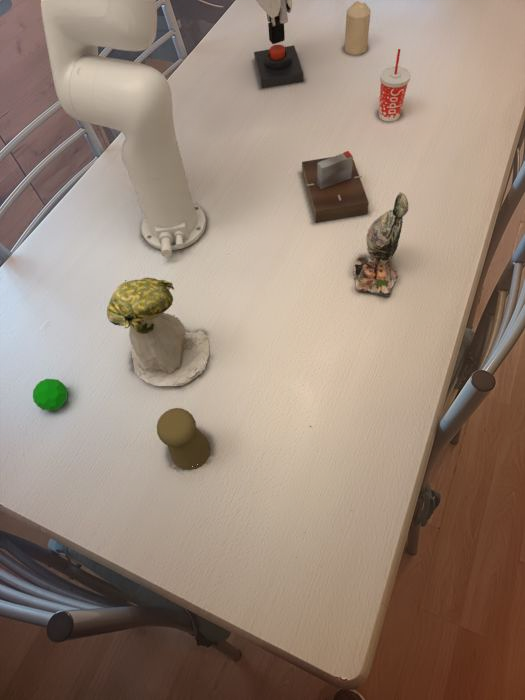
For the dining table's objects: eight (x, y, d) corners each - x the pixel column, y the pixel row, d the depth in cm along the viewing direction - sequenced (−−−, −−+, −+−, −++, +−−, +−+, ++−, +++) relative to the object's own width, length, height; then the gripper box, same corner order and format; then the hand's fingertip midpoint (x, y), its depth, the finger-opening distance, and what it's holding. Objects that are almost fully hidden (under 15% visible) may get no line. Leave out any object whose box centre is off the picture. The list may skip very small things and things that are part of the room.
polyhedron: (36, 401, 81) (21, 388, 76) (61, 381, 82) (48, 367, 78) (52, 421, 78) (38, 409, 74) (78, 400, 80) (65, 387, 76)
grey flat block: (321, 189, 95) (321, 167, 91) (316, 184, 96) (317, 161, 92) (351, 178, 96) (353, 155, 92) (346, 172, 97) (348, 149, 92)
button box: (303, 82, 118) (303, 65, 115) (261, 88, 118) (260, 72, 114) (294, 54, 124) (294, 37, 121) (254, 60, 124) (253, 44, 121)
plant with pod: (408, 256, 89) (431, 164, 72) (387, 304, 84) (407, 217, 67) (364, 243, 92) (377, 151, 74) (342, 289, 87) (350, 202, 70)
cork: (211, 429, 76) (197, 399, 66) (210, 469, 73) (195, 443, 63) (171, 432, 76) (152, 402, 66) (169, 471, 73) (148, 446, 63)
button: (286, 59, 117) (286, 51, 116) (271, 61, 117) (270, 54, 115) (283, 50, 119) (283, 43, 117) (269, 53, 119) (268, 45, 117)
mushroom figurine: (187, 400, 78) (158, 340, 62) (118, 375, 82) (73, 311, 66) (219, 339, 84) (199, 270, 68) (153, 318, 87) (119, 246, 71)
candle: (341, 45, 124) (343, 1, 116) (361, 40, 125) (365, -4, 116) (349, 57, 121) (352, 12, 113) (370, 51, 122) (375, 7, 113)
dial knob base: (368, 214, 95) (370, 201, 92) (313, 223, 95) (313, 210, 92) (351, 165, 102) (353, 152, 100) (300, 174, 102) (300, 161, 99)
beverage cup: (373, 122, 108) (381, 57, 96) (376, 105, 111) (385, 40, 99) (402, 124, 107) (413, 59, 95) (404, 107, 110) (416, 41, 98)
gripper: (240, -64, 102) (249, 30, 118) (269, -34, 95) (275, 62, 111) (273, -73, 103) (278, 21, 119) (305, -45, 96) (305, 51, 112)
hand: (277, 40), depth 115 cm, fingers closed
